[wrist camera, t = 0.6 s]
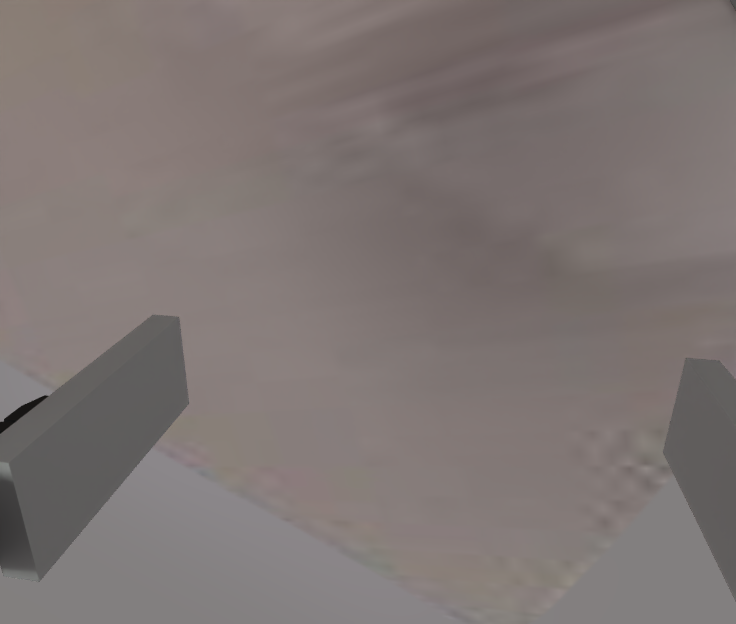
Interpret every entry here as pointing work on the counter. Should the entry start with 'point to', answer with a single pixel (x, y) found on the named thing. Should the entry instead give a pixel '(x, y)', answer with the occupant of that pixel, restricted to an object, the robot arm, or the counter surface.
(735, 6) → the gray rectangular tray
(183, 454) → the counter surface
